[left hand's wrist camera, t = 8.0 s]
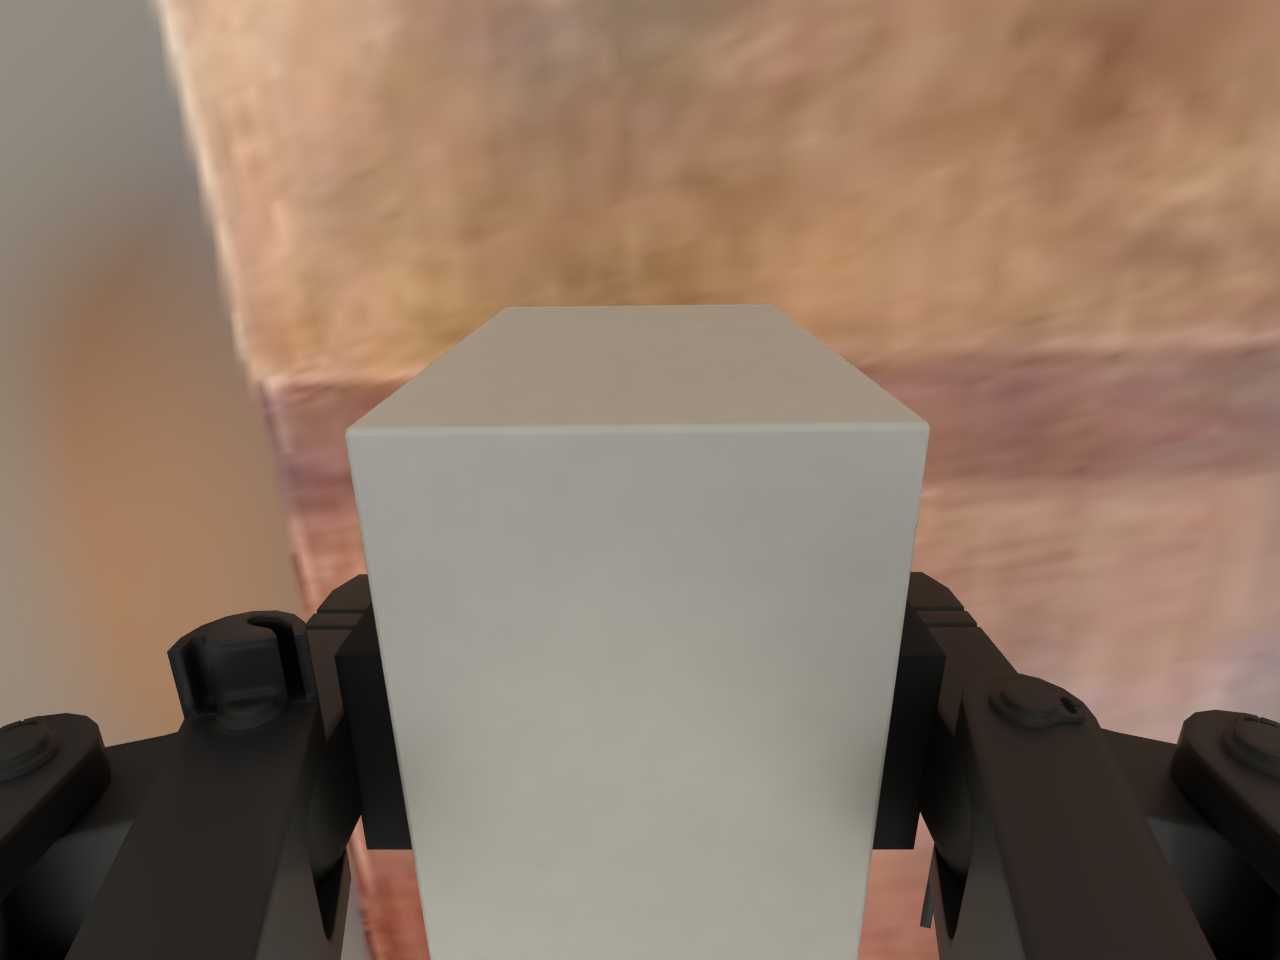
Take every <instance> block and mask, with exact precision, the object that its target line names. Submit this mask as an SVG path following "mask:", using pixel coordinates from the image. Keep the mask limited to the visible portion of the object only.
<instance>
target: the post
mask: <svg viewBox="0 0 1280 960" xmlns="http://www.w3.org/2000/svg"><path fill="white" fill-rule="evenodd" d="M929 432H930V428H929V424H928V423H927V422H926V421H925V420H923V419H922V418H921V417H920V416H918V415H917V414H916V413H914V412H913V411H912V410H910V409H909V408H908V407H907V406H905V405H904V404H903V403H901V402H900V401H899V400H897V399H896V398H895V397H893V396H892V395H891V394H890V393H888V392H887V391H886V390H884V389H883V388H882V387H880V386H879V385H878V384H876V383H875V382H874V381H873V380H871V379H870V378H869V377H867V376H866V375H865V374H863V373H862V372H861V371H860V370H858V369H857V368H856V367H854V366H853V365H852V364H850V363H849V362H848V361H846V360H845V359H844V358H843V357H841V356H840V355H839V354H837V353H836V352H835V351H833V350H832V349H831V348H829V347H828V346H827V345H826V344H824V343H823V342H822V341H820V340H819V339H818V338H816V337H815V336H814V335H813V334H811V333H810V332H809V331H807V330H806V329H805V328H803V327H802V326H801V325H799V324H798V323H797V322H796V321H794V320H793V319H792V318H790V317H789V316H788V315H786V314H785V313H784V312H782V311H781V310H780V309H779V308H777V307H776V306H775V305H773V304H721V305H629V306H537V307H506V308H504V309H503V310H501V311H500V312H499V313H497V314H496V315H495V316H493V317H492V318H491V319H489V320H488V321H487V322H486V323H484V324H483V325H482V326H480V327H479V328H478V329H476V330H475V331H474V332H472V333H471V334H470V335H469V336H467V337H466V338H465V339H463V340H462V341H461V342H459V343H458V344H457V345H456V346H454V347H453V348H452V349H450V350H449V351H448V352H446V353H445V354H444V355H442V356H441V357H440V358H439V359H437V360H436V361H435V362H433V363H432V364H431V365H429V366H428V367H427V368H425V369H424V370H423V371H422V372H420V373H419V374H418V375H416V376H415V377H414V378H412V379H411V380H410V381H409V382H407V383H406V384H405V385H403V386H402V387H401V388H399V389H398V390H397V391H395V392H394V393H393V394H392V395H390V396H389V397H388V398H386V399H385V400H384V401H382V402H381V403H380V404H378V405H377V406H376V407H375V408H373V409H372V410H371V411H369V412H368V413H367V414H365V415H364V416H363V417H362V418H360V419H359V420H358V421H356V422H355V423H354V424H352V425H351V426H350V427H348V428H347V430H346V433H345V438H346V444H347V450H348V456H349V462H350V469H351V475H352V481H353V487H354V493H355V499H356V506H357V512H358V518H359V524H360V530H361V536H362V542H363V549H364V555H365V561H366V567H367V573H368V579H369V586H370V592H371V598H372V604H373V610H374V616H375V623H376V629H377V635H378V641H379V647H380V653H381V659H382V666H383V672H384V678H385V684H386V690H387V696H388V703H389V709H390V715H391V721H392V727H393V733H394V739H395V746H396V752H397V758H398V764H399V770H400V776H401V783H402V789H403V795H404V801H405V807H406V813H407V819H408V826H409V832H410V838H411V844H412V850H413V856H414V863H415V869H416V875H417V881H418V887H419V893H420V899H421V906H422V912H423V918H424V924H425V930H426V936H427V943H428V949H429V955H430V960H857V958H858V951H859V944H860V936H861V929H862V922H863V914H864V907H865V900H866V892H867V885H868V878H869V871H870V863H871V856H872V849H873V841H874V834H875V827H876V819H877V812H878V805H879V797H880V790H881V783H882V775H883V768H884V761H885V754H886V746H887V739H888V732H889V724H890V717H891V710H892V702H893V695H894V688H895V680H896V673H897V666H898V659H899V651H900V644H901V637H902V629H903V622H904V615H905V607H906V600H907V593H908V585H909V578H910V571H911V563H912V556H913V549H914V542H915V534H916V527H917V520H918V512H919V505H920V498H921V490H922V483H923V476H924V468H925V461H926V454H927V447H928V439H929Z"/></svg>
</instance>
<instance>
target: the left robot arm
mask: <svg viewBox="0 0 1280 960" xmlns="http://www.w3.org/2000/svg"><path fill="white" fill-rule="evenodd" d="M167 653H168V657H169V661H170V665H171V669H172V673H173V676H174V680H175V684H176V688H177V692H178V695H179V699H180V703H181V707H182V711H183V714H184V718H185V719H184V721H183V723H182V725H181V727H180V729H179V731H178V732H176V733H172V734H168V735H164V736H160V737H154V738H150V739H145V740H140V741H135V742H130V743H125V744H120V745H115V746H110V747H105V746H104V743H103V740H102V736H101V733H100V730H99V727H98V724H96V723H95V722H94V721H93V720H91V719H90V718H89V717H87V716H83V715H76V714H69V713H63V714H55V715H46V716H37V717H33V718H28V719H25V720H24V721H17V722H14V723H11V724H8V725H6V726H4V727H2V728H0V960H341V952H342V945H343V937H344V929H345V921H346V914H347V906H348V898H349V890H350V883H351V873H350V866H349V859H348V854H347V848H346V845H347V843H348V841H349V839H350V837H351V835H352V832H353V830H354V828H355V826H356V824H357V822H358V820H359V817H360V815H361V816H362V822H363V828H364V834H365V840H366V846H367V849H412V844H411V838H410V832H409V826H408V819H407V813H406V807H405V801H404V795H403V789H402V783H401V776H400V770H399V764H398V758H397V752H396V746H395V739H394V733H393V727H392V721H391V715H390V709H389V703H388V696H387V690H386V684H385V678H384V672H383V666H382V659H381V653H380V647H379V641H378V635H377V629H376V623H375V616H374V610H373V604H372V598H371V592H370V586H369V579H368V574H359V575H358V576H356V577H354V578H353V579H351V580H349V581H348V582H346V583H345V584H343V585H341V586H340V587H338V588H336V589H335V590H333V591H332V592H331V593H330V595H329V596H328V597H327V598H326V600H325V601H324V602H323V603H322V604H321V606H320V607H319V608H318V609H317V614H313V616H312V617H311V618H310V619H309V620H308V622H307V623H306V624H305V622H304V621H303V620H301V619H300V618H299V617H297V616H296V615H295V614H290V613H286V612H281V611H252V612H246V613H242V614H237V615H232V616H227V617H224V618H221V619H218V620H216V621H213V622H210V623H208V624H205V625H202V626H200V627H199V628H197V629H195V630H193V631H192V632H190V633H188V634H187V635H185V636H183V637H181V638H180V639H179V640H178V641H177V642H176V643H175V644H174V645H173V646H172V647H171V648H170V649H169V650H168V652H167ZM920 812H921V814H922V817H923V819H924V821H925V823H926V825H927V827H928V829H929V832H930V834H931V836H932V838H933V840H934V842H935V843H934V848H933V854H932V859H931V865H930V870H929V876H928V881H927V887H926V892H925V898H924V903H923V909H922V916H921V923H920V926H922V927H926V928H930V927H931V922H932V916H933V912H934V920H935V927H936V935H937V943H938V951H939V958H940V960H1280V723H1277V722H1275V721H1272V720H1269V719H1266V718H1263V717H1261V718H1258V716H1256V715H1251V714H1247V713H1238V712H1230V711H1221V710H1211V711H1203V712H1196V713H1194V714H1193V715H1191V716H1190V717H1189V718H1188V719H1186V720H1185V721H1184V723H1183V726H1182V729H1181V732H1180V736H1179V739H1178V742H1177V744H1173V743H1168V742H1163V741H1158V740H1153V739H1148V738H1143V737H1138V736H1133V735H1128V734H1123V733H1118V732H1114V731H1110V730H1106V729H1102V728H1101V727H1100V725H1099V723H1098V721H1097V719H1096V718H1095V716H1094V715H1093V714H1092V713H1091V711H1090V710H1089V709H1088V708H1087V706H1086V705H1085V704H1084V703H1083V702H1082V701H1080V700H1079V699H1078V698H1076V697H1075V696H1073V695H1072V694H1070V693H1069V692H1067V691H1066V690H1065V689H1063V688H1061V687H1058V686H1056V685H1054V684H1051V683H1049V682H1047V681H1044V680H1042V679H1040V678H1036V677H1031V676H1027V675H1023V674H1019V673H1017V671H1016V670H1015V669H1014V668H1013V667H1012V665H1011V664H1010V663H1009V662H1008V660H1007V659H1006V658H1005V657H1004V656H1003V654H1002V653H1001V652H1000V651H999V649H998V648H997V647H996V646H995V645H994V643H993V642H992V641H991V640H990V638H989V637H988V636H987V635H986V634H985V632H984V631H983V630H982V629H981V627H977V623H976V621H975V620H974V619H973V618H972V616H971V615H970V614H969V613H968V612H967V611H964V607H963V605H962V604H961V603H960V602H959V601H958V599H957V598H956V597H955V596H954V595H953V593H952V592H951V591H950V590H949V588H947V587H945V586H944V585H942V584H940V583H939V582H937V581H936V580H934V579H932V578H931V577H929V576H927V575H926V574H924V573H922V572H910V578H909V585H908V593H907V600H906V607H905V615H904V622H903V629H902V637H901V644H900V651H899V659H898V666H897V673H896V680H895V688H894V695H893V702H892V710H891V717H890V724H889V732H888V739H887V746H886V754H885V761H884V768H883V775H882V783H881V790H880V797H879V805H878V812H877V819H876V827H875V834H874V841H873V849H914V843H915V837H916V831H917V826H918V820H919V814H920Z"/></svg>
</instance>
